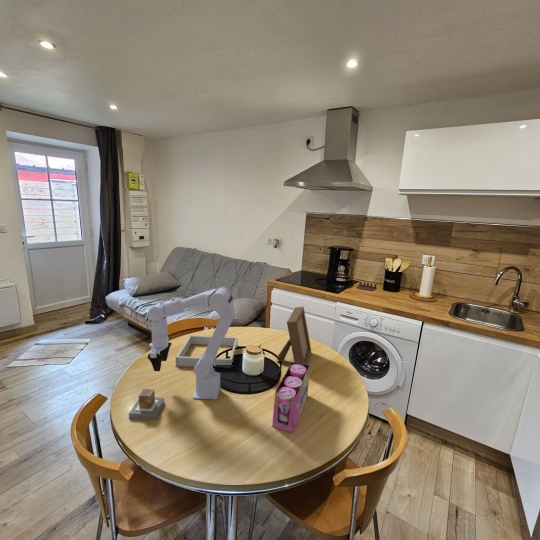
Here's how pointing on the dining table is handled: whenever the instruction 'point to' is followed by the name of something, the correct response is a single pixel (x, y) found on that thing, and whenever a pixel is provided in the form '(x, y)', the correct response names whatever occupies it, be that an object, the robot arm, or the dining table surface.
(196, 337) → the grey corral
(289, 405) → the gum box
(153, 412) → the plate
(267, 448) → the dining table surface
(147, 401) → the walnut block
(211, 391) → the robot arm
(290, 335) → the photo frame
